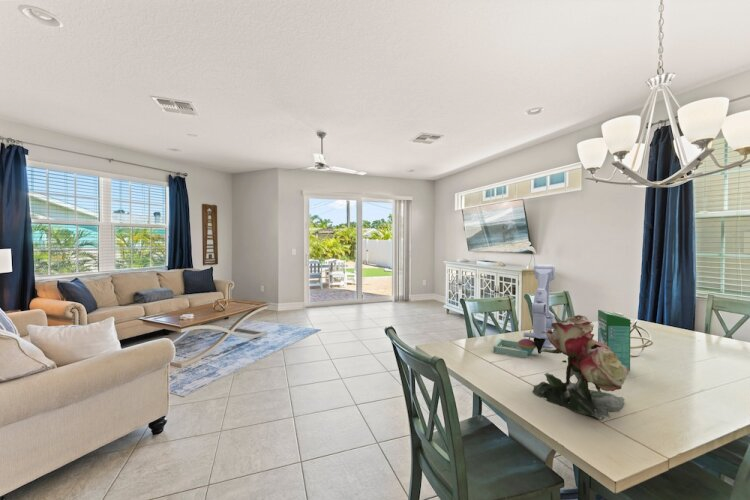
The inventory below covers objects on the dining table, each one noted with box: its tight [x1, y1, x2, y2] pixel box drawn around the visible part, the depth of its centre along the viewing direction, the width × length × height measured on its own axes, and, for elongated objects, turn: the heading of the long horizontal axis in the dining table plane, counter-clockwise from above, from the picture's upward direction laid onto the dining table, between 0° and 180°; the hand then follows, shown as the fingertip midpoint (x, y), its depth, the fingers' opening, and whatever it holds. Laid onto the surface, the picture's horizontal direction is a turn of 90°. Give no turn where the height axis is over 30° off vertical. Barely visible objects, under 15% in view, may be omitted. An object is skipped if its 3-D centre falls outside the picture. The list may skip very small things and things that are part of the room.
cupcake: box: [517, 330, 537, 355], centre depth 168 cm, size 9×8×12 cm
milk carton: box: [597, 309, 631, 372], centre depth 149 cm, size 9×9×25 cm
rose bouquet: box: [531, 314, 629, 421], centre depth 120 cm, size 26×29×30 cm
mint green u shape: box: [493, 338, 528, 359], centre depth 172 cm, size 15×16×3 cm
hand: (539, 353), depth 165 cm, fingers closed
